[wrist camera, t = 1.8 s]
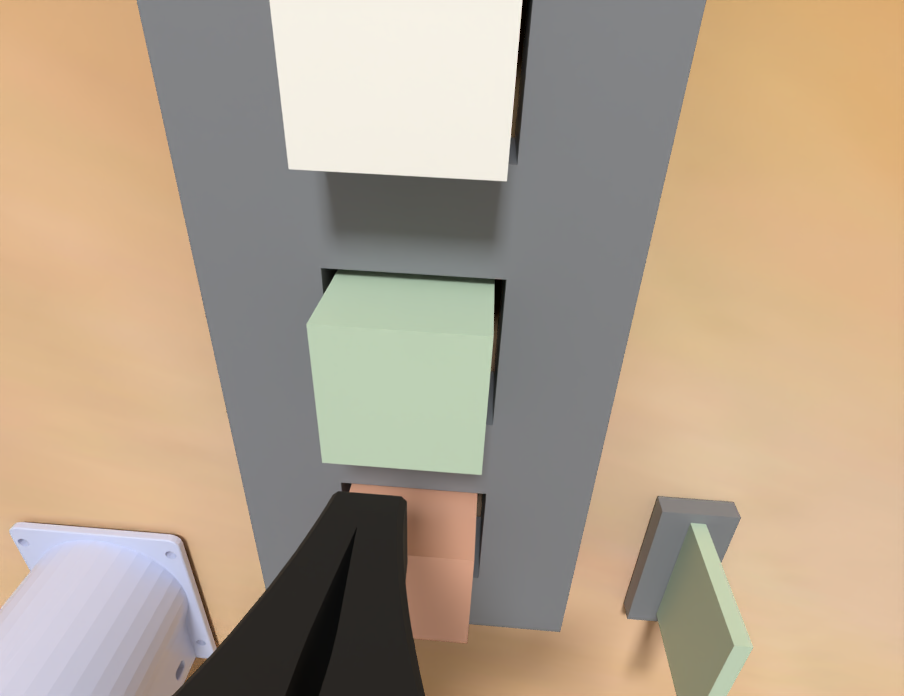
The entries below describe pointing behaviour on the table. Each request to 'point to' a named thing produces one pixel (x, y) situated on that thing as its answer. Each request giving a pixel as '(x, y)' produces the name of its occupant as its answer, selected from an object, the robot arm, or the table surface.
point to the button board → (433, 267)
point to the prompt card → (691, 594)
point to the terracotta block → (437, 559)
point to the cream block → (398, 85)
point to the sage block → (403, 370)
